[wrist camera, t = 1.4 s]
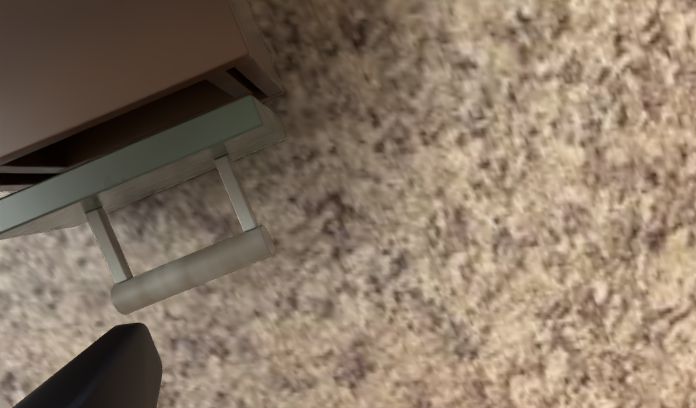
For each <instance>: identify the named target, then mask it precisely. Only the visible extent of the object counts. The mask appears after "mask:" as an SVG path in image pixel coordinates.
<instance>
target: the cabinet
mask: <svg viewBox="0 0 696 408" xmlns="http://www.w3.org/2000/svg"><path fill="white" fill-rule="evenodd" d="M233 67H235V68H236V69H237V70H238V71H239V72H241V73H242V74H243V75H244V76H245V77H246V78H247V79H248V81H249V84H250V86H251V89H252V91H253V94H252V96H254V97H255V98H256V99H257V100H259V101H260V102H261V103H264V102H267V101H269V100H271V99H274V98H276V97H279V96H281V95H283V94H285V91H284V89H283V86H282V84H281V82H280V79H279V77H278V74H277V72H276V69H275V67H274V64H273V62H272V59H271V57H270V55H269V52H268V50H267V47H266V45H265V42H264V40H263V37H262V35H261V33H260V30H259V28H258V25H257V23H256V20H255V18H254V15H253V13H252V11H251V8H250V6H249V3H248V1H247V0H0V165H3V164H5V163H8V162H10V161H12V160H15V159H17V158H19V157H22V156H24V155H27V154H29V153H31V152H34V151H36V150H38V149H41V148H43V147H46V146H48V145H50V144H53V143H55V142H57V141H60V140H62V139H65V138H67V137H69V136H72V135H74V134H76V133H79V132H81V131H84V130H86V129H88V128H91V127H93V126H95V125H98V124H100V123H103V122H105V121H107V120H110V119H112V118H114V117H117V116H119V115H122V114H124V113H126V112H129V111H131V110H133V109H136V108H138V107H141V106H143V105H145V104H148V103H150V102H152V101H155V100H157V99H160V98H162V97H164V96H167V95H169V94H171V93H174V92H176V91H179V90H181V89H183V88H186V87H188V86H190V85H193V84H195V83H198V82H200V81H202V80H205V79H207V78H209V77H212V76H214V75H217V74H219V73H221V72H224V71H226V70H228V69H231V68H233ZM58 174H60V173H0V192H2V191H20V190H22V189H24V188H27V187H29V186H31V185H34V184H36V183H39V182H41V181H43V180H46V179H48V178H51V177H53V176H55V175H58Z"/></svg>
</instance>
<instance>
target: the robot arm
mask: <svg viewBox="0 0 696 408" xmlns="http://www.w3.org/2000/svg"><path fill="white" fill-rule="evenodd" d="M161 379H162V362H161V359H160V356H159V354H158V352H157V349H156V347H155V344H154V342H153V340H152V337H151V335H150V332H149V330H148V328H147V327H146V326H145V325H144V324H143V323H130V324H122V325H117V326H115V327H113V328H112V329H110V330H109V331H108V332H107V333H105V334H104V335H103V336H102V337H100V338H99V339H98V340H97V341H95V342H94V343H93V344H92V345H90V346H89V347H88V348H87V349H85V350H84V351H83V352H82V353H80V354H79V355H78V356H77V357H75V358H74V359H73V360H72V361H70V362H69V363H68V364H67V365H65V366H64V367H63V368H62V369H60V370H59V371H58V372H56V373H55V374H54V375H53V376H51V377H50V378H49V379H48V380H46V381H45V382H44V383H43V384H41V385H40V386H39V387H38V388H36V389H35V390H34V391H33V392H31V393H30V394H29V395H28V396H26V397H25V398H24V399H23V400H21V401H20V402H19V403H18V404H16V405H15V406H14V407H13V408H156V407H157V401H158V396H159V390H160V385H161Z"/></svg>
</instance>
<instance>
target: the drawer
mask: <svg viewBox="0 0 696 408" xmlns="http://www.w3.org/2000/svg"><path fill="white" fill-rule="evenodd" d="M252 94H253V91H252V89H251V86H250V84H249V81H248V79H247V78H246V77H245V76H244V75H243V74H242V73H241V72H239V71H238V70H237V69H236V68H235V67H233V68H231V69H228V70H226V71H224V72H221V73H219V74H217V75H214V76H212V77H209V78H207V79H205V80H202V81H200V82H198V83H195V84H193V85H190V86H188V87H186V88H183V89H181V90H179V91H176V92H174V93H171V94H169V95H167V96H164V97H162V98H160V99H157V100H155V101H152V102H150V103H148V104H145V105H143V106H141V107H138V108H136V109H133V110H131V111H129V112H126V113H124V114H122V115H119V116H117V117H114V118H112V119H110V120H107V121H105V122H103V123H100V124H98V125H95V126H93V127H91V128H88V129H86V130H84V131H81V132H79V133H76V134H74V135H72V136H69V137H67V138H65V139H62V140H60V141H57V142H55V143H53V144H50V145H48V146H46V147H43V148H41V149H38V150H36V151H34V152H31V153H29V154H27V155H24V156H22V157H19V158H17V159H15V160H12V161H10V162H8V163H5V164H3V165H0V173H60V174H58V175H55V176H53V177H51V178H48V179H46V180H43V181H41V182H39V183H36V184H34V185H31V186H29V187H27V188H24V189H22V190H20V191H17V192H15V193H12V194H10V195H8V196H5V197H3V198H0V240H2V239H8V238H14V237H19V236H25V235H30V234H36V233H42V232H47V231H53V230H58V229H64V228H70V227H75V226H77V225H80V224H82V223H85V222H87V221H88V222H89V224H90V227H91V229H92V231H93V234H94V236H95V238H96V241H97V243H98V245H99V248H100V250H101V252H102V254H103V257H104V259H105V261H106V264H107V266H108V268H109V271H110V273H111V275H112V278H113V280H114V282H115V285H114V286H113V287H112V289H111V299H112V302H113V305H114V306H115V308H116V309H117V311H118V312H120V313H121V314H124V315H126V314H129V313H132V312H134V311H137V310H139V309H141V308H144V307H146V306H149V305H151V304H154V303H156V302H159V301H161V300H164V299H166V298H169V297H171V296H174V295H176V294H179V293H181V292H184V291H186V290H189V289H191V288H194V287H196V286H199V285H201V284H204V283H206V282H208V281H211V280H213V279H216V278H218V277H221V276H223V275H226V274H228V273H231V272H233V271H236V270H238V269H241V268H243V267H246V266H248V265H251V264H253V263H256V262H258V261H261V260H263V259H266V258H268V257H270V256H273V255H274V254H275V249H274V245H273V242H272V239H271V237H270V235H269V233H268V231H267V229H266V228H265V227H264V226H263V225H260V226H258V223H257V220H256V218H255V215H254V213H253V211H252V208H251V206H250V203H249V201H248V199H247V196H246V194H245V191H244V189H243V187H242V184H241V182H240V179H239V177H238V175H237V172H236V170H235V167H234V165H233V163H232V161H235V160H237V159H240V158H242V157H245V156H247V155H249V154H252V153H254V152H257V151H259V150H261V149H264V148H266V147H269V146H271V145H274V144H276V143H278V142H281V141H283V140H286V139H287V138H288V136H287V133H286V131H285V128H284V126H283V123H282V121H281V118H280V116H278V115H277V114H276V113H275V112H273V111H272V110H271V109H269V108H268V107H267V106H265V105H264V104H263V103H261V102H260V101H259V100H257V99H256V98H255V97H254V96H252ZM215 168H217V169H218V172H219V174H220V177H221V179H222V181H223V184H224V186H225V189H226V191H227V193H228V196H229V198H230V201H231V203H232V205H233V208H234V210H235V212H236V215H237V217H238V220H239V222H240V224H241V227H242V229H243V231H244V232H243V233H241V234H238V235H236V236H233V237H231V238H228V239H226V240H223V241H221V242H218V243H216V244H213V245H211V246H209V247H206V248H204V249H201V250H199V251H196V252H194V253H191V254H189V255H186V256H184V257H181V258H179V259H177V260H174V261H172V262H169V263H167V264H164V265H162V266H159V267H157V268H154V269H152V270H149V271H147V272H145V273H142V274H140V275H137V276H135V277H133V275H132V273H131V270H130V268H129V266H128V263H127V261H126V259H125V256H124V254H123V252H122V250H121V247H120V245H119V243H118V240H117V238H116V236H115V233H114V231H113V229H112V226H111V224H110V222H109V219H108V217H107V215H106V213H109V212H111V211H114V210H116V209H119V208H121V207H123V206H126V205H128V204H131V203H133V202H135V201H138V200H140V199H143V198H145V197H148V196H150V195H152V194H155V193H157V192H160V191H162V190H165V189H167V188H169V187H172V186H174V185H177V184H179V183H182V182H184V181H186V180H189V179H191V178H194V177H196V176H198V175H201V174H203V173H206V172H208V171H211V170H213V169H215ZM257 226H258V227H257Z"/></svg>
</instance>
